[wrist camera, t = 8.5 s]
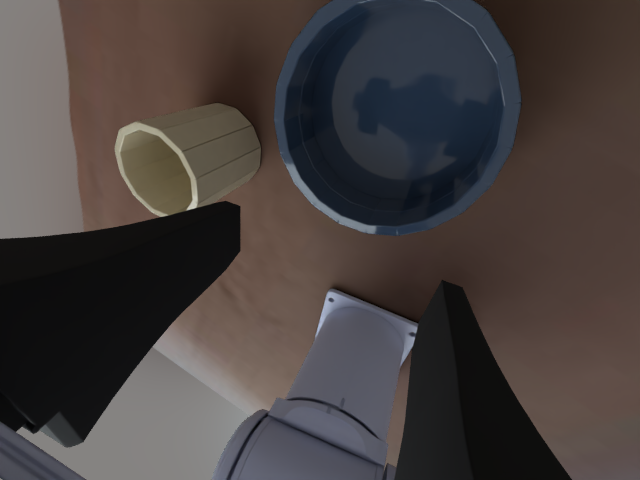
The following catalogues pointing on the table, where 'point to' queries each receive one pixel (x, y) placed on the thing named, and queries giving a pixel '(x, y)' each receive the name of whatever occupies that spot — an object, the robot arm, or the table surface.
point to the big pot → (397, 111)
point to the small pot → (187, 157)
